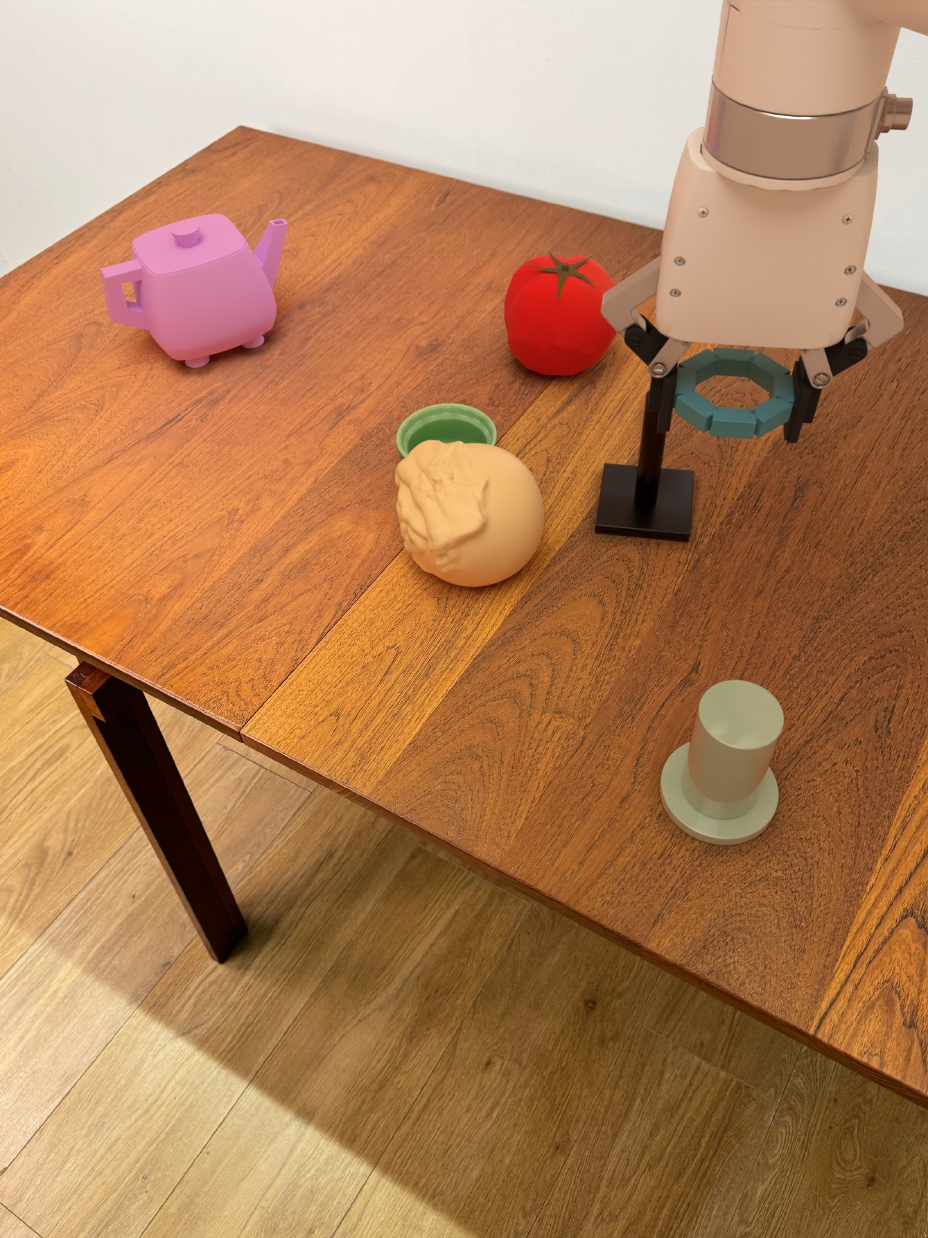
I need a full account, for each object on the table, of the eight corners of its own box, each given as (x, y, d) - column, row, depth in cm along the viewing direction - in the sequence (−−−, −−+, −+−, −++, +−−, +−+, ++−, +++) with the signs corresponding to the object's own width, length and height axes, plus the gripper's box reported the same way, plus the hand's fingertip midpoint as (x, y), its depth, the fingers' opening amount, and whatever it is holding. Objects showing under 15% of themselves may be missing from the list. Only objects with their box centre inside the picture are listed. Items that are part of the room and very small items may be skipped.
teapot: (145, 397, 101) (104, 285, 91) (111, 335, 108) (70, 226, 98) (325, 333, 107) (305, 222, 97) (281, 279, 114) (258, 170, 104)
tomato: (479, 358, 103) (474, 259, 94) (558, 312, 107) (561, 214, 98) (560, 411, 97) (563, 311, 88) (641, 361, 101) (652, 260, 92)
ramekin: (398, 444, 95) (393, 407, 91) (492, 435, 95) (491, 398, 91) (403, 510, 89) (398, 473, 86) (503, 500, 89) (502, 463, 86)
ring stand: (775, 752, 72) (805, 669, 64) (776, 854, 67) (809, 777, 59) (662, 737, 73) (679, 655, 65) (655, 836, 68) (672, 759, 60)
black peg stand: (692, 478, 90) (711, 368, 81) (688, 542, 85) (708, 432, 76) (603, 470, 91) (612, 361, 82) (594, 533, 86) (603, 424, 77)
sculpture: (385, 530, 87) (370, 435, 79) (511, 492, 90) (510, 396, 81) (429, 624, 81) (418, 530, 72) (564, 579, 83) (569, 484, 75)
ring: (788, 368, 60) (792, 351, 59) (793, 442, 56) (797, 425, 55) (674, 360, 61) (676, 344, 60) (670, 433, 57) (672, 416, 56)
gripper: (973, 90, 47) (870, 394, 61) (605, 80, 50) (586, 375, 63) (1000, 168, 43) (882, 477, 56) (593, 153, 45) (575, 453, 59)
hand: (726, 421), depth 60 cm, fingers closed on ring, 6 cm apart
